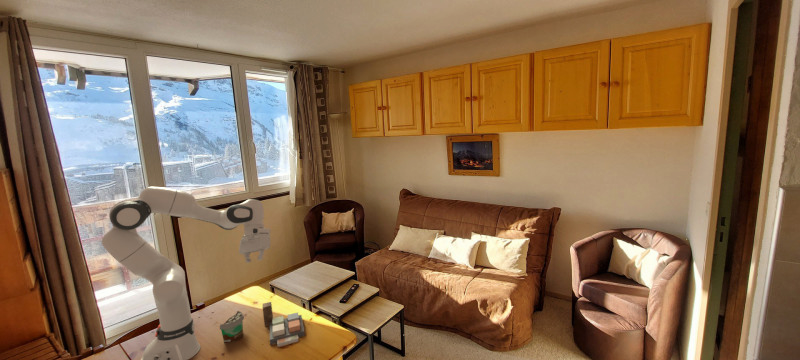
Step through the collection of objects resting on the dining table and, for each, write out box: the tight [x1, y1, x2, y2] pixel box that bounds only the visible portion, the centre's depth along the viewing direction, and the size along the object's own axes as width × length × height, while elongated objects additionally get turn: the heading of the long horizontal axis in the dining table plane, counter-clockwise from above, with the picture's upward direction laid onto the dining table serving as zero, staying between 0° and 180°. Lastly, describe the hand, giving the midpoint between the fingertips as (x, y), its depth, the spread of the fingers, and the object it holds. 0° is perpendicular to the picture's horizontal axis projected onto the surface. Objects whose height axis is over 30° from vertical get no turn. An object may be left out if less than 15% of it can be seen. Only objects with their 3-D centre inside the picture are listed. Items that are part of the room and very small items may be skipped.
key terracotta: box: [288, 320, 301, 333], centre depth 153 cm, size 5×5×2 cm
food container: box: [219, 310, 245, 344], centre depth 152 cm, size 12×6×10 cm, turn 168°
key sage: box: [272, 315, 285, 326], centre depth 157 cm, size 5×5×2 cm
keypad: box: [269, 314, 306, 348], centre depth 154 cm, size 15×18×2 cm
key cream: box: [273, 323, 285, 337], centre depth 151 cm, size 5×5×2 cm
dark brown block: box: [262, 301, 274, 327], centre depth 163 cm, size 4×4×10 cm
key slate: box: [287, 312, 300, 322], centre depth 160 cm, size 5×5×2 cm
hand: (254, 261), depth 155 cm, fingers open, 8 cm apart
